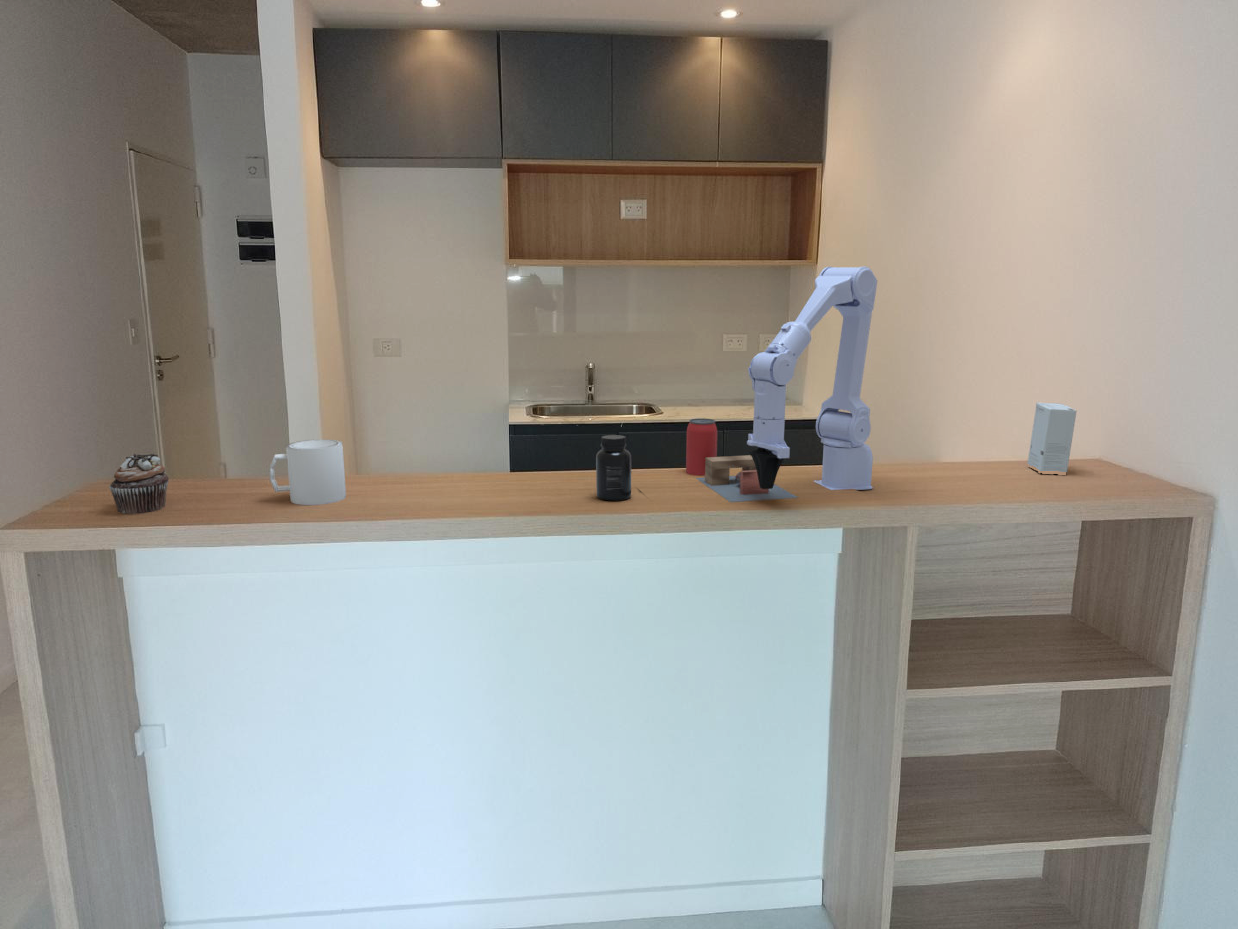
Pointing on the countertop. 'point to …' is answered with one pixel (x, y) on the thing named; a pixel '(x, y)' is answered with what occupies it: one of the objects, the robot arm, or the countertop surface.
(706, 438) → the beer can
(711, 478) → the block
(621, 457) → the supplement bottle
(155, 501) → the cupcake
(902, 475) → the countertop surface
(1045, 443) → the skincare box
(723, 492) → the mat
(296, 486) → the mug
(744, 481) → the pin
